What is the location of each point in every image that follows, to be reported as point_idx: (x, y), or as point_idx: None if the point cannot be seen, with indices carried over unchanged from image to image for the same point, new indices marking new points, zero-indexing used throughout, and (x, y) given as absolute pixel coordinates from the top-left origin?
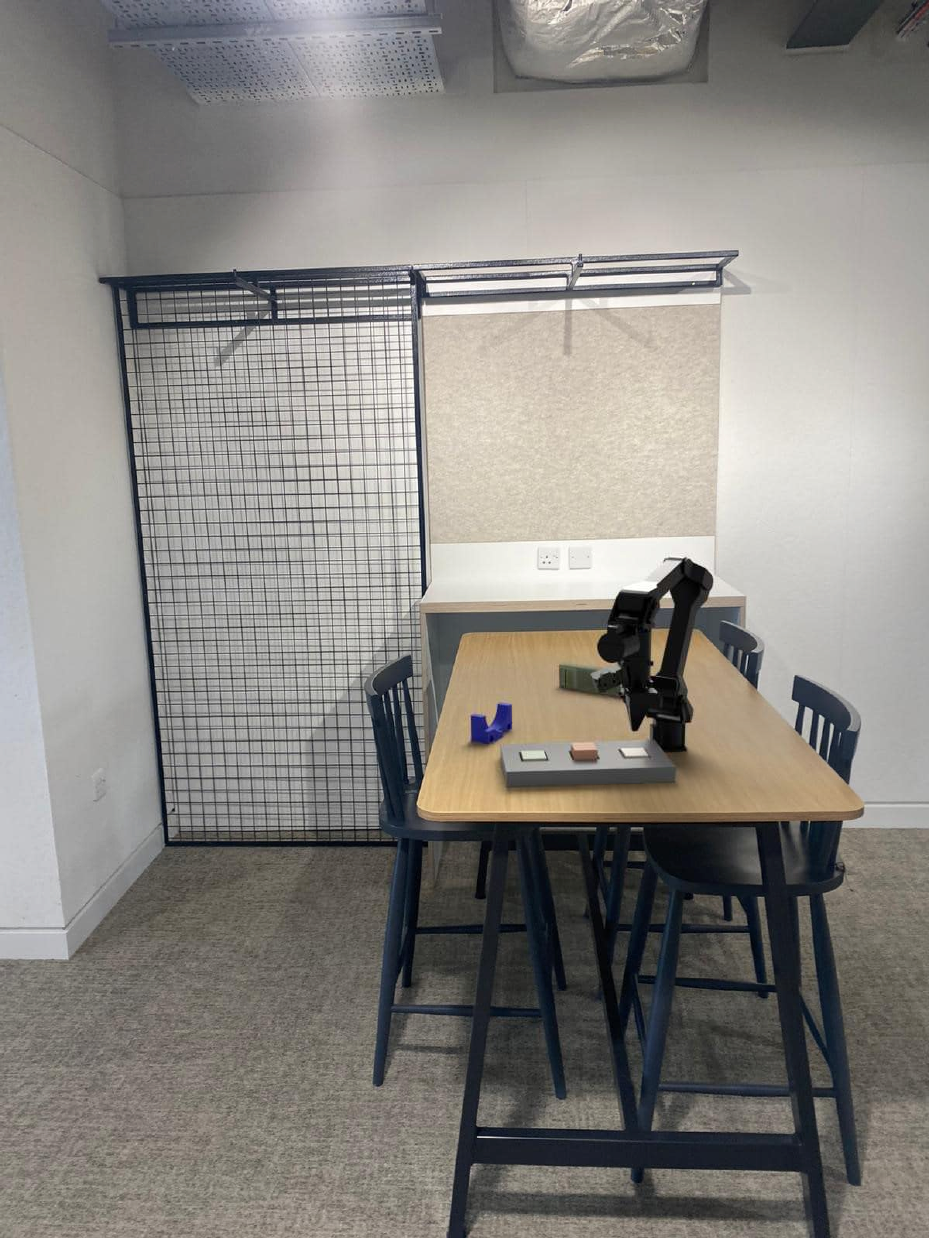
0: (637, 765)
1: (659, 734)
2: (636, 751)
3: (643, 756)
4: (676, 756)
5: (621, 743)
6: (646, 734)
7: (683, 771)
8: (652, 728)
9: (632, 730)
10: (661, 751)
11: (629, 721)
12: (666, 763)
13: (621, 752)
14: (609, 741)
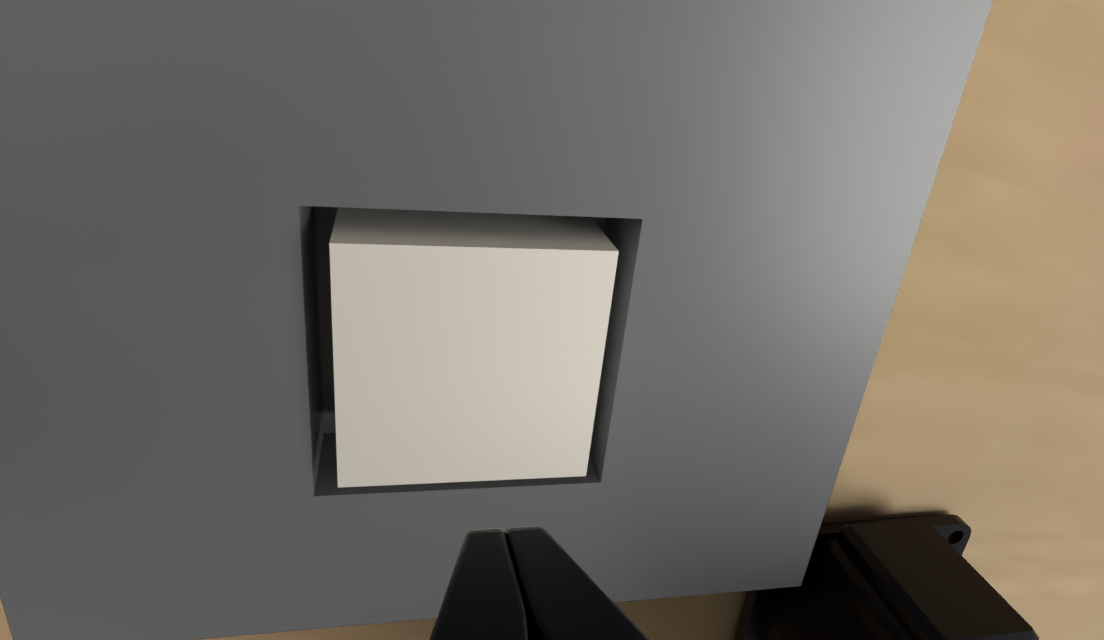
0: (20, 311)
1: (874, 637)
2: (482, 395)
3: (339, 433)
4: (650, 617)
5: (812, 300)
6: (1095, 514)
7: None
8: (949, 633)
9: (466, 539)
10: None
11: (609, 617)
12: (129, 596)
13: (569, 237)
14: (918, 188)
